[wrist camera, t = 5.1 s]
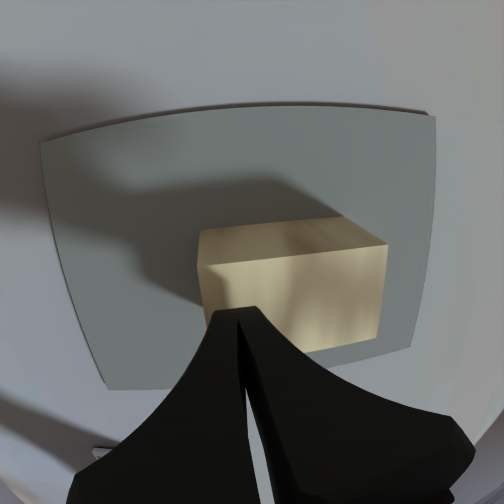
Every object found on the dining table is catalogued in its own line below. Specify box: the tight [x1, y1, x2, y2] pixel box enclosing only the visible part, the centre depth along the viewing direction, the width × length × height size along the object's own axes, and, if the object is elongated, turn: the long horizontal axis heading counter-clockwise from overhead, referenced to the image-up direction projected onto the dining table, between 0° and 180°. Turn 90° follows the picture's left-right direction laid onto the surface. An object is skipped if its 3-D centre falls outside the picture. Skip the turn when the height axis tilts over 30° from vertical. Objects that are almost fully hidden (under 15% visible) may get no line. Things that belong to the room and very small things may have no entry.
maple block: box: [197, 216, 388, 353], centre depth 12 cm, size 4×4×6 cm
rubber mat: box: [39, 106, 436, 390], centre depth 14 cm, size 14×19×1 cm
